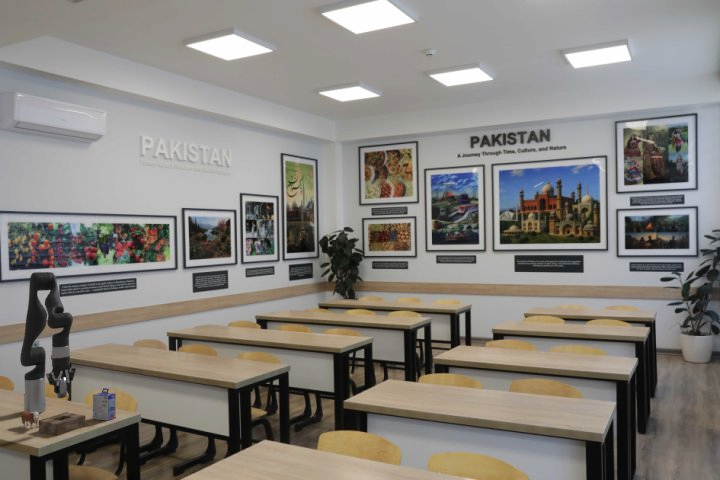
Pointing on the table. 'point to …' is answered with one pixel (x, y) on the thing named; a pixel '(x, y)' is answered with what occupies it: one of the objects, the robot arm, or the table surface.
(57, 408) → the table surface
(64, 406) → the table surface
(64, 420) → the docking block
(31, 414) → the bull figurine
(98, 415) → the ink cartridge box
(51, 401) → the table surface
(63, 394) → the peg
